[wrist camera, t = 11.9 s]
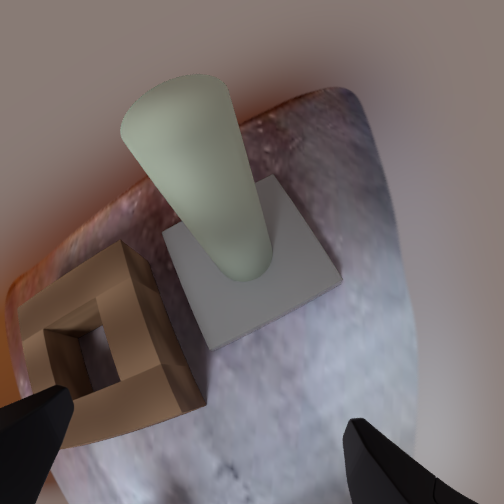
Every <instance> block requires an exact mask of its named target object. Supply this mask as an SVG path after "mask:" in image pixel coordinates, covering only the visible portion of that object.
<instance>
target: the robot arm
mask: <svg viewBox="0 0 504 504" xmlns="http://www.w3.org/2000/svg"><path fill="white" fill-rule="evenodd" d="M73 412H74V403H73V400H72V397H71V394H70V391H69V389H68V388H67V387H65V386H62V385H59V384H56V385H54V386H52V387H49V388H47V389H45V390H42V391H40V392H38V393H35V394H33V395H31V396H28V397H26V398H24V399H21V400H19V401H16V402H14V403H12V404H9V405H7V406H4V407H2V408H0V504H35V503H36V501H37V498H38V496H39V494H40V491H41V489H42V487H43V484H44V482H45V480H46V478H47V475H48V473H49V471H50V469H51V467H52V464H53V462H54V460H55V458H56V456H57V454H58V452H59V450H60V447H61V445H62V443H63V440H64V437H65V434H66V431H67V429H68V426H69V423H70V420H71V418H72V415H73ZM343 449H344V458H345V467H346V476H347V483H348V487H349V492H350V496H351V500H352V504H478V503H476V502H475V501H473V500H471V499H469V498H467V497H465V496H464V495H462V494H460V493H459V492H457V491H455V490H454V489H453V488H451V487H450V486H448V485H447V484H445V483H444V482H443V481H441V480H440V479H439V478H436V477H435V475H433V474H432V473H430V472H429V471H428V470H427V469H425V468H424V467H423V466H422V465H420V464H419V463H418V462H417V461H415V460H414V459H413V458H411V457H410V456H409V455H408V454H406V453H405V452H404V451H403V450H401V449H400V448H399V447H398V446H397V445H395V444H394V443H393V442H392V441H390V440H389V439H388V438H387V437H386V436H384V435H383V434H382V433H381V432H379V431H378V430H377V429H376V428H375V427H373V426H372V425H371V424H370V423H369V422H368V421H366V420H365V419H364V418H352V419H350V420H349V422H348V424H347V427H346V430H345V432H344V435H343Z"/></svg>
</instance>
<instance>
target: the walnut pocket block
mask: <svg viewBox="0 0 504 504" xmlns="http://www.w3.org/2000/svg"><path fill="white" fill-rule="evenodd" d="M17 310H18V318H19V326H20V333H21V339H22V345H23V351H24V356H25V361H26V366H27V371H28V375H29V379H30V383H31V387H32V391H33V394H35V393H38V392H40V391H42V390H45V389H47V388H49V387H52V386H54V385H56V384H59V385H62V386H65V387H67V388H68V389H69V391H70V394H71V397H72V400H73V403H74V412H73V415H72V418H71V420H70V423H69V426H68V429H67V431H66V434H65V437H64V440H63V443H62V445H61V447H60V449H66V448H72V447H77V446H82V445H87V444H91V443H95V442H99V441H103V440H106V439H110V438H113V437H117V436H120V435H124V434H127V433H130V432H134V431H137V430H140V429H143V428H146V427H149V426H152V425H155V424H158V423H161V422H164V421H167V420H169V419H172V418H175V417H178V416H180V415H183V414H186V413H188V412H191V411H194V410H196V409H199V408H201V407H204V406H206V403H205V401H204V399H203V397H202V395H201V393H200V391H199V388H198V386H197V384H196V382H195V380H194V378H193V375H192V373H191V371H190V368H189V366H188V364H187V362H186V359H185V357H184V355H183V352H182V350H181V347H180V345H179V343H178V340H177V338H176V335H175V333H174V330H173V328H172V325H171V323H170V320H169V318H168V315H167V312H166V310H165V307H164V304H163V302H162V299H161V296H160V293H159V291H158V288H157V285H156V282H155V279H154V276H153V274H152V271H151V268H150V265H149V262H148V261H147V260H146V259H144V258H143V257H142V256H141V255H139V254H138V253H137V252H135V251H134V250H133V249H132V248H130V247H129V246H128V245H127V244H125V243H124V242H123V241H122V240H118V241H117V242H115V243H114V244H112V245H110V246H109V247H107V248H105V249H104V250H102V251H101V252H99V253H97V254H96V255H94V256H93V257H91V258H90V259H88V260H87V261H85V262H83V263H82V264H80V265H79V266H77V267H76V268H74V269H73V270H71V271H70V272H68V273H67V274H65V275H64V276H62V277H61V278H59V279H58V280H56V281H55V282H53V283H52V284H51V285H49V286H48V287H46V288H45V289H43V290H42V291H41V292H39V293H38V294H36V295H35V296H33V297H32V298H31V299H29V300H28V301H27V302H25V303H24V304H22V305H21V306H20V307H18V308H17ZM102 325H103V327H104V331H105V334H106V338H107V341H108V344H109V348H110V351H111V354H112V357H113V360H114V363H115V366H116V369H117V372H118V375H119V377H120V380H121V381H120V382H118V383H116V384H113V385H111V386H108V387H106V388H103V389H101V390H99V391H96V392H93V389H92V386H91V383H90V380H89V376H88V373H87V370H86V367H85V363H84V360H83V356H82V353H81V349H80V345H79V341H78V338H79V337H81V336H83V335H85V334H87V333H89V332H90V331H92V330H94V329H96V328H98V327H100V326H102Z"/></svg>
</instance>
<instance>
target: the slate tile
mask: <svg viewBox="0 0 504 504" xmlns="http://www.w3.org/2000/svg"><path fill="white" fill-rule="evenodd" d="M255 186H256V190H257V194H258V197H259V201H260V205H261V209H262V212H263V216H264V220H265V223H266V227H267V231H268V235H269V239H270V242H271V246H272V253H273V254H272V261H271V263H270V265H269V267H268V269H267V270H266V271H265V272H264V273H263V274H262V275H261V276H259V277H258V278H256V279H254V280H251V281H246V282H239V281H234V280H232V279H230V278H228V277H226V276H225V275H224V274H223V273H222V272H221V270H220V269H219V268H218V267H217V265H216V264H215V263H214V262H213V260H212V259H211V258H210V256H209V255H208V254H207V253H206V251H205V250H204V249H203V247H202V246H201V245H200V244H199V242H198V241H197V240H196V238H195V237H194V236H193V235H192V233H191V232H190V231H189V229H188V228H187V227H186V225H185V224H184V223H183V221H181V222H179V223H178V224H176V225H174V226H172V227H170V228H169V229H167V230H165V231H163V232H162V235H163V238H164V240H165V243H166V246H167V248H168V251H169V254H170V256H171V259H172V262H173V264H174V267H175V269H176V272H177V274H178V277H179V280H180V282H181V285H182V287H183V289H184V292H185V294H186V297H187V299H188V302H189V304H190V306H191V309H192V311H193V314H194V316H195V318H196V321H197V323H198V325H199V328H200V330H201V332H202V334H203V337H204V339H205V341H206V343H207V346H208V348H209V350H212V351H215V350H217V349H219V348H221V347H224V346H226V345H228V344H230V343H232V342H234V341H236V340H238V339H240V338H242V337H244V336H246V335H248V334H250V333H252V332H254V331H256V330H258V329H260V328H262V327H264V326H266V325H267V324H269V323H271V322H273V321H275V320H277V319H279V318H281V317H283V316H285V315H286V314H288V313H290V312H292V311H294V310H296V309H298V308H299V307H301V306H303V305H305V304H307V303H308V302H310V301H312V300H314V299H316V298H317V297H319V296H321V295H323V294H325V293H326V292H328V291H330V290H332V289H333V288H335V287H337V286H338V285H340V284H341V283H342V280H343V279H342V277H341V276H340V274H339V272H338V271H337V269H336V268H335V266H334V264H333V263H332V261H331V260H330V258H329V257H328V255H327V253H326V252H325V250H324V249H323V247H322V246H321V244H320V243H319V241H318V239H317V238H316V236H315V235H314V233H313V232H312V230H311V229H310V227H309V226H308V224H307V223H306V221H305V220H304V218H303V217H302V215H301V214H300V212H299V211H298V209H297V208H296V206H295V205H294V203H293V202H292V200H291V199H290V197H289V196H288V195H287V193H286V192H285V190H284V189H283V187H282V186H281V184H280V183H279V182H278V180H277V179H276V177H275V176H274V175H273V174H272V175H270V176H268V177H266V178H264V179H262V180H260V181H258V182H256V183H255Z"/></svg>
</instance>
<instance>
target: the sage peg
mask: <svg viewBox="0 0 504 504" xmlns="http://www.w3.org/2000/svg"><path fill="white" fill-rule="evenodd" d="M120 133H121V137H122V140H123V141H124V143H125V144H126V146H127V147H128V148H129V150H130V151H131V152H132V154H133V155H134V157H135V158H136V159H137V161H138V162H139V164H140V165H141V166H142V168H143V169H144V170H145V172H146V173H147V175H148V176H149V177H150V179H151V180H152V181H153V183H154V184H155V185H156V187H157V188H158V189H159V191H160V192H161V194H162V195H163V196H164V198H165V199H166V200H167V202H168V203H169V204H170V206H171V207H172V208H173V210H174V211H175V212H176V214H177V215H178V216H179V217H180V219H181V220H182V221H183V223H184V224H185V225H186V227H187V228H188V229H189V231H190V232H191V233H192V235H193V236H194V237H195V238H196V240H197V241H198V242H199V244H200V245H201V246H202V247H203V249H204V250H205V251H206V253H207V254H208V255H209V256H210V258H211V259H212V260H213V262H214V263H215V264H216V265H217V267H218V268H219V269H220V270H221V272H222V273H223V274H224V275H225V276H226V277H228V278H230V279H232V280H234V281H239V282H246V281H251V280H254V279H256V278H258V277H259V276H261V275H262V274H263V273H264V272H265V271H266V270H267V269H268V267H269V265H270V263H271V261H272V254H273V253H272V246H271V242H270V239H269V235H268V231H267V227H266V223H265V220H264V216H263V212H262V209H261V205H260V201H259V197H258V194H257V190H256V186H255V183H254V179H253V176H252V172H251V168H250V165H249V161H248V158H247V154H246V150H245V147H244V143H243V140H242V136H241V133H240V129H239V126H238V122H237V119H236V115H235V112H234V108H233V105H232V101H231V98H230V94H229V91H228V88H227V86H226V85H225V83H224V82H222V81H221V80H220V79H218V78H216V77H213V76H210V75H202V74H195V75H186V76H181V77H177V78H174V79H171V80H168V81H166V82H163V83H162V84H160V85H157V86H156V87H154V88H152V89H151V90H149V91H148V92H146V93H145V94H144V95H142V96H141V97H140V98H139V99H138V100H137V101H136V102H135V103H134V104H133V105H132V106H131V107H130V109H129V110H128V111H127V113H126V115H125V116H124V119H123V121H122V124H121V131H120Z"/></svg>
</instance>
